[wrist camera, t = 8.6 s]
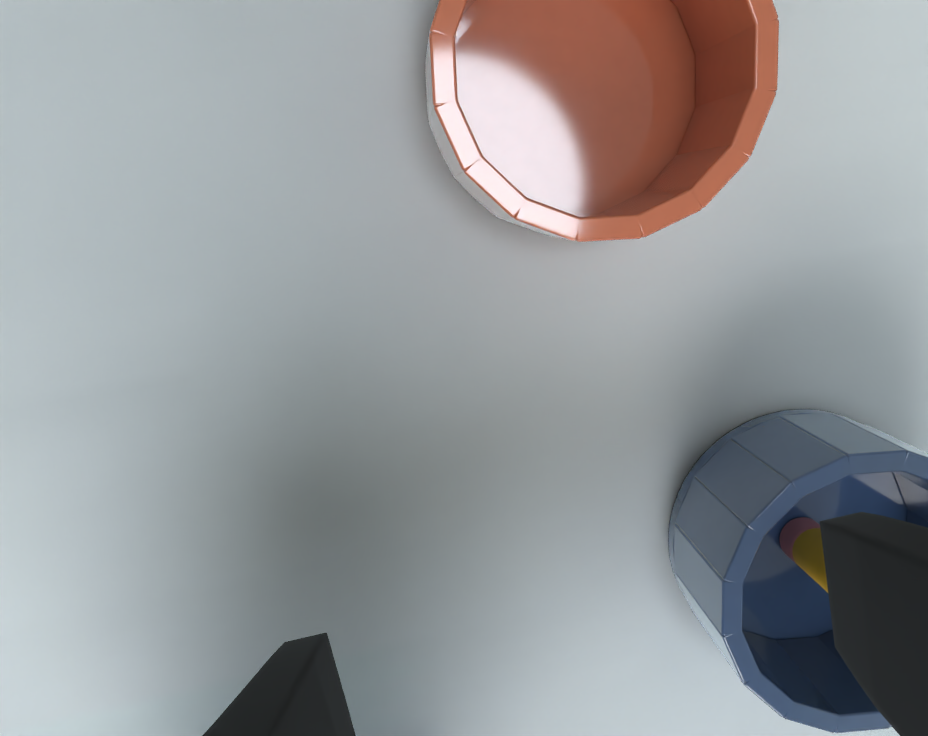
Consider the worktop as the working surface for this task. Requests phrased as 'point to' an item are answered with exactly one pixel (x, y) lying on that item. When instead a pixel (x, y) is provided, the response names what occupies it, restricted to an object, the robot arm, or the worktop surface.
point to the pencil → (805, 547)
